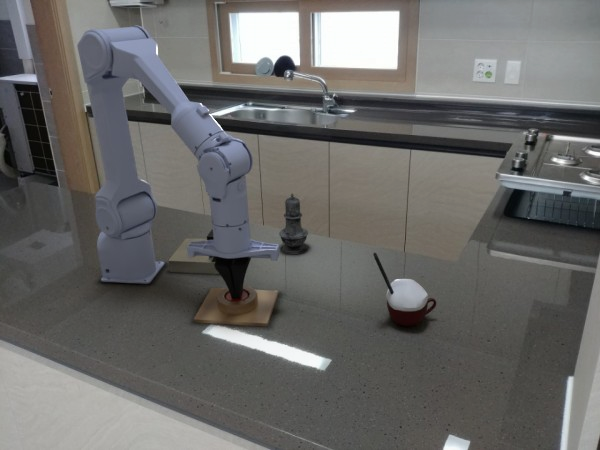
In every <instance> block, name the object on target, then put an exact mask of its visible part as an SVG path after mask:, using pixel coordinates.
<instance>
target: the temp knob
mask: <svg viewBox="0 0 600 450" xmlns="http://www.w3.org/2000/svg"><path fill="white" fill-rule="evenodd" d="M206 239H207V240H214V237H213V228H212V229H211V230H210V231H209V233H208V234H207V236H206Z"/></svg>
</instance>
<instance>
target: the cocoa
mask: <svg viewBox="0 0 600 450" xmlns="http://www.w3.org/2000/svg"><path fill="white" fill-rule="evenodd" d="M372 254H373V257H374V260H375V262H376V264H377V267H378V269H379V271H380V273H381V276H382V277H383V280H384V282H385V284H386V286H387V291H386V296H385V297H386V309H387V311H388V314H389V317H390V319H391V320H392V321H393V322H394V323H396V324H397V325H399V326H403V327H413V326H417V325H419V324H420V323H422V321H423V320H424V319H425V317H426V316H427V315H429V314H430V313H431V312H433V310H434V309H435V308H436V306H437V301H436V299H435V298H433V297H430V298H429V294H428V293H427V291H426V290H425V288H424V287H423V286H422V285H421V284H419V283H418V282H417V281H416V280H414V279H412V278H411V279H410V278H397V279H394V280H393V281H392V282H390V280H389V278H388V276H387V274H386V272H385V269H384V267H383V264H382V263H381V261H380V258H379V255H378V254H377V252H373V253H372ZM431 302H432V305H431V306H430V307H429V308H428V305H429V303H431Z"/></svg>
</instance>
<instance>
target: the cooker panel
mask: <svg viewBox="0 0 600 450" xmlns="http://www.w3.org/2000/svg"><path fill="white" fill-rule="evenodd" d="M191 241H207V238H190V237H189V238H188V237H186V238H185V239H184V240H183V241H182V243H180V245H179V246H178V248H177V249H176V250H175V251H174V253H173V254H172V255H171V257H170V258H169V259H168V267H169V273H182V274H183V273H184V274H185V273H186V274H204V275H205V274H206V275H220V274H219V272H218V271H217V270H216V269H215V266H214V264H215V262H216V256H195V257H188V253H187V246H188V244H189V243H190V242H191Z"/></svg>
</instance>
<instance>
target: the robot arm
mask: <svg viewBox="0 0 600 450" xmlns="http://www.w3.org/2000/svg"><path fill="white" fill-rule="evenodd" d="M76 46H77V51H78V56H79V61H80V66H81V71H82V75H83V76H82V77H83V81H84V83H85V84H86V88H87V93H88V97H89V102H90V103H89V104H90V107H91V112H92V117H93V122H94V128H95V132H96V135H97V136H96V137H97V142H98V147H99V152H100V157H101V161H102V167H103V171H104V177H105V181H104V183H103V185H102V186H101V187H100V189H99V190H98V191H97V192H96V194H95V195H94V200H95V214H94V215H95V217H94V218H95V221H96V224H97V226H98V228H99V229H100V231H101V232H100V233H99V234H98V237H97V242H96V249H97V250H96V251H97V255H98V260H99V266H100V271H101V276H102V277H101V278H100V282H102V283H121V284H122V283H123V284H142V285H148V284H151V282H152V281H153V280H154V278H155V277H157V275H158V274H159V273H160V271H161V270H162V268H163V267H164V266H165V264H166V263H165V262H164V261H157V260H156V255H155V247H154V241H153V234H152V227H153V226H154V221H155V219H156V218H157V216H158V213H159V207H158V203H157V200H156V198H155V196H154V195H153V191H152V187H151V184H150V183H149V182H147V181H146V180H143V179H141V178H140V177H139V175H138V170H137V164H136V159H135V153H134V148H133V142H132V136H131V131H130V130H131V129H130V124H129V119H128V113H127V108H126V102H125V97H124V91H123V88H124V86H125V85H126V84H127V82H128V81H129V79H133V80H138V81H139V83H140V84H141V85H142V86H143V87H144V88H145V89H146V90H147V91H148V92H149V93H150V94H151V95H152V96H153V98H154V99H156V100H157V101H158V103H159V104H160V105H161V106H162V107H163V108H164V110H166V111H167V112H168V113H169V114H170V115H171V119H170V122H171V123H170V127H171V128H172V130H173V131H174V132H175V133H176V135H177V136H178V137H179V139H180V140H181V141H182V142H183V143H184V145H185V146H186V147H187V149H188V150H189V151H190V152H191V153H192V154H193V156H194V157H195V158H196V159H197V161H198V162H199V163H198V164H197V165H196V170H197V172H198V174H199V177H200V179H201V180H202V181H203V183H204V187H205V193H207V196H208V197H209V206H210V208H209V209H210V217H211V226H212V229H213V237H214V240H207V241H191V242H190V243H189V244H188V246H187V253H188V257H195V256H216V262H215V264H214V266H215V269H216V270H217V271H218V272H219V274H218V275H220V276H221V278H222V279H223V281H224V283H225V285H226V287H228V289H229V292H230V295H231V298H232V299H240V297H241V295H242V293H243V285H244V282H245V277H246V274H247V271H248V268H249V265H250V262H251V260H252V259H270V261H272V262H273V261H274V262H275V261H278V260H279V258H280V244H278V243H269V242H262V241H258V240H254V239H251V230H250V215H249V200H248V187H247V186H248V185H247V176H246V175H248V174H249V173H250V172H251V171H252V168H253V166H254V163H253V162H254V159H253V155H252V153H251V149H250V148H249V147H248V145H247V143H246V142H244V140H242V139H240V138H235V137H234V136H232V135H231V134H229V133H226V131H225V130H224V129H223V128H222V127H221V125H220V124H219V123H218V122H217V121H216V120H215V118H214V117H213V116H212V115H211V113H210V112H211V111H210V109H208V108H207V106H206V105H203V103H201V102H196V101H190V99H189V98H188V97H187V95H186V94H185V93H184V91H183V90H182V88H181V87H180V85H179V84H178V83H177V81H176V80H175V78H174V77H173V75H172V74H171V72H170V71H169V70H168V68H167V67H166V66H165V64H164V63H163V61H162V60H161V59H160V57H159V49H158V43H157V42H156V41H155V40H154V39H153V38H152V36H151V34H150V33H149V32H148V30H147V29H145V28H144V26H140V25H132V26H125V27H115V28H102V29H96V28H90V29H87V30H86V31H84V33H83V34H82V36H81V37H80V39H79V41H78V43H77V44H76Z"/></svg>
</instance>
